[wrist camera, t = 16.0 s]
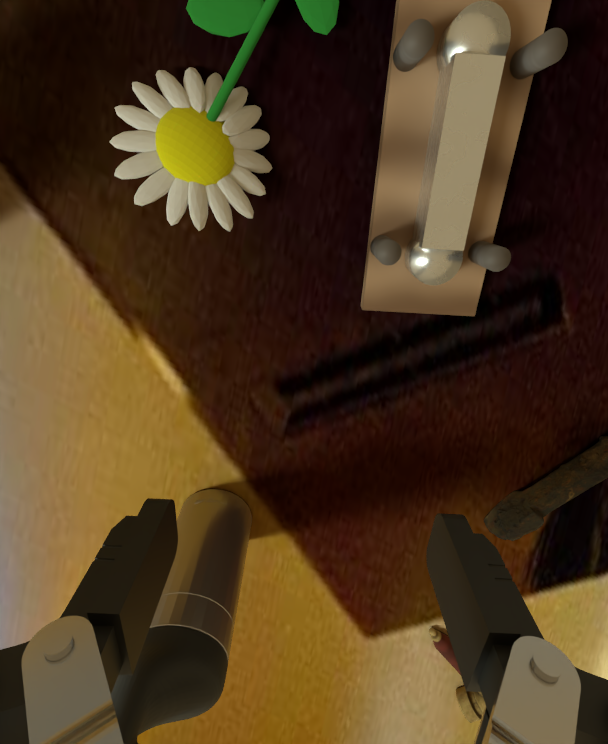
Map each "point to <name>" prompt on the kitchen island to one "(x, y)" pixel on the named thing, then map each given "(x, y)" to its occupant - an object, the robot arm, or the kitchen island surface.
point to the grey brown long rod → (548, 493)
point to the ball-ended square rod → (457, 138)
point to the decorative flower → (206, 122)
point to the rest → (409, 146)
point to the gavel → (468, 701)
